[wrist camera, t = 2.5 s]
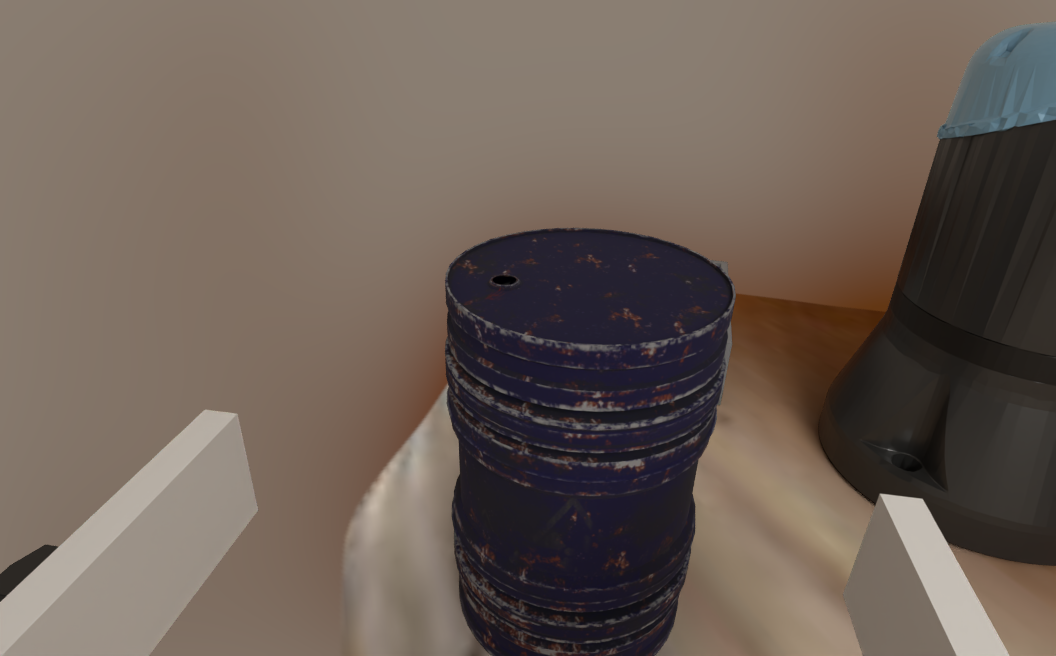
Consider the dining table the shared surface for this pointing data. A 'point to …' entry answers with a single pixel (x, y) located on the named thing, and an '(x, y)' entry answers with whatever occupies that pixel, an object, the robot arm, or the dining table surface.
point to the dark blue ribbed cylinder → (579, 434)
